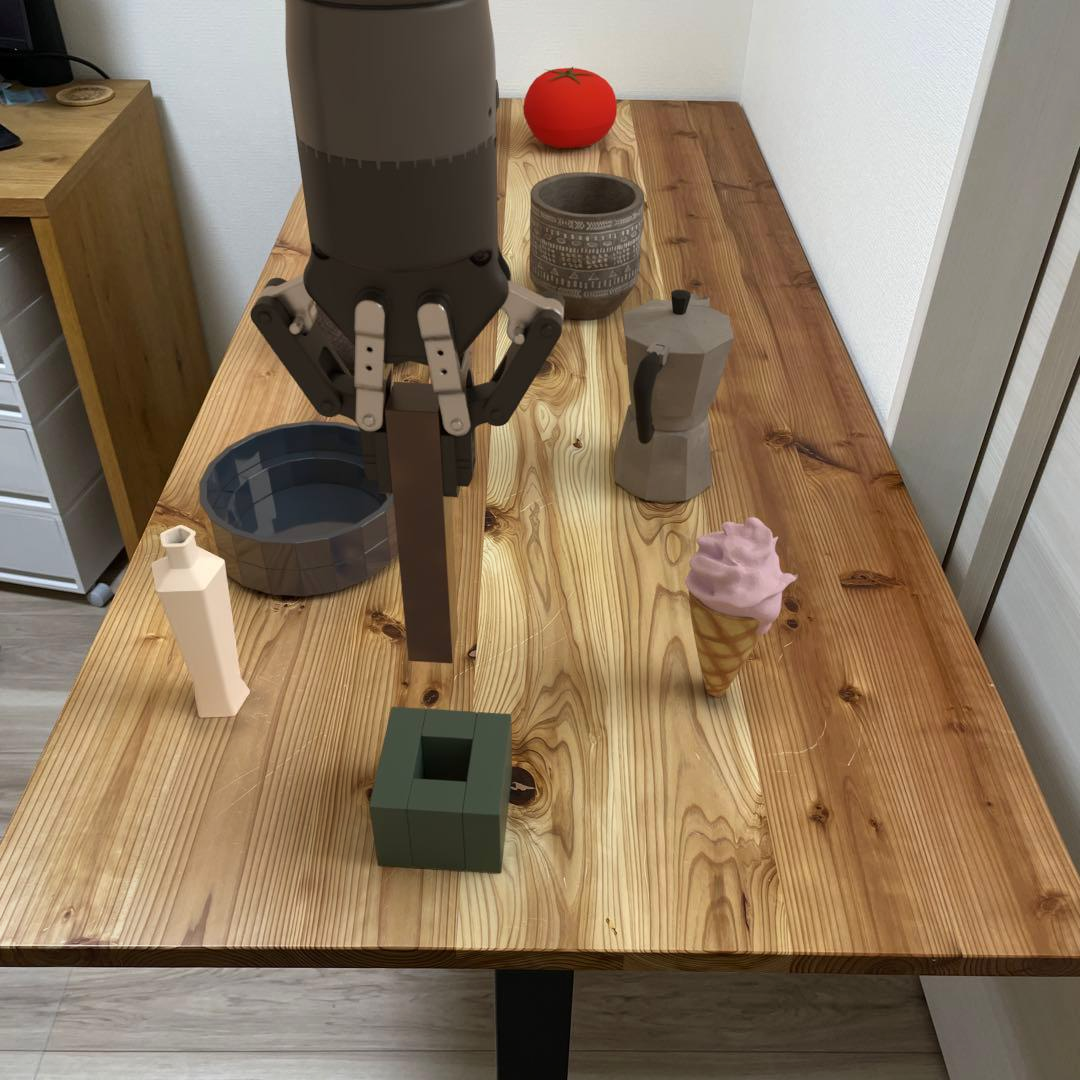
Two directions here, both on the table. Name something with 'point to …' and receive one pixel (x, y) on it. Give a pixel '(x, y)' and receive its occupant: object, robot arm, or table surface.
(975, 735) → the table surface
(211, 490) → the bowl
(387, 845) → the holder
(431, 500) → the brown rectangular peg
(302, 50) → the robot arm
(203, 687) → the perfume bottle
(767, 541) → the ice cream cone
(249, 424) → the table surface
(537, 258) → the planter
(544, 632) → the table surface
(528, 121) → the tomato
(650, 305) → the coffeepot
